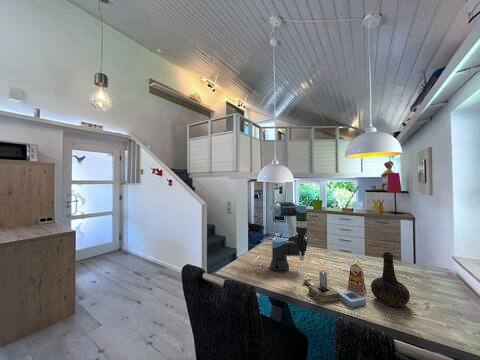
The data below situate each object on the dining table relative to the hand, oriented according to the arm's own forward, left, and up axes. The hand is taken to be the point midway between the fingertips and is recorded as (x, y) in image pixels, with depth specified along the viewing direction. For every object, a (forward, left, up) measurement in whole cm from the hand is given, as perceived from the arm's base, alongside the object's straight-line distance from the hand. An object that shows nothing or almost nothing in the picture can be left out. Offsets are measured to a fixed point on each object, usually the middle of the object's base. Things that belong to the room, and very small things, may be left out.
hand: (301, 259), depth 145 cm
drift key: (+10, 0, -13) cm, 17 cm away
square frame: (+32, +12, -14) cm, 37 cm away
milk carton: (+23, +25, -14) cm, 37 cm away
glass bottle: (+39, +32, -14) cm, 52 cm away
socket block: (+23, 0, -14) cm, 27 cm away
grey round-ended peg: (+23, 0, -14) cm, 27 cm away
